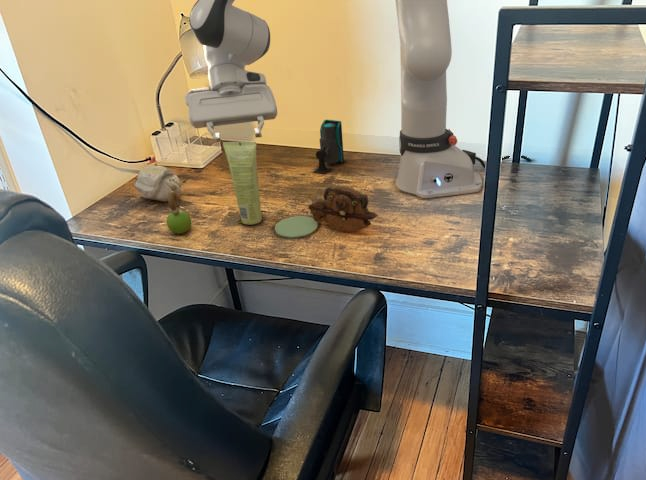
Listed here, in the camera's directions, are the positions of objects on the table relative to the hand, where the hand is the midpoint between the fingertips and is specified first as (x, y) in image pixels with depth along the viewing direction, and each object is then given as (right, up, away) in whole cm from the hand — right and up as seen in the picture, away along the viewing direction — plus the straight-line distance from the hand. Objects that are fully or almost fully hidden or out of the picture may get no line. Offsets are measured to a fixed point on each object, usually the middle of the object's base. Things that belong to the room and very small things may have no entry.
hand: (238, 138), depth 124 cm
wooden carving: (+24, -21, -2) cm, 32 cm away
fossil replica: (-24, -11, +18) cm, 32 cm away
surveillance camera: (+19, -1, +30) cm, 36 cm away
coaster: (+14, -21, 0) cm, 25 cm away
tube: (+3, -19, +4) cm, 19 cm away
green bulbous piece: (-13, -22, +1) cm, 25 cm away
